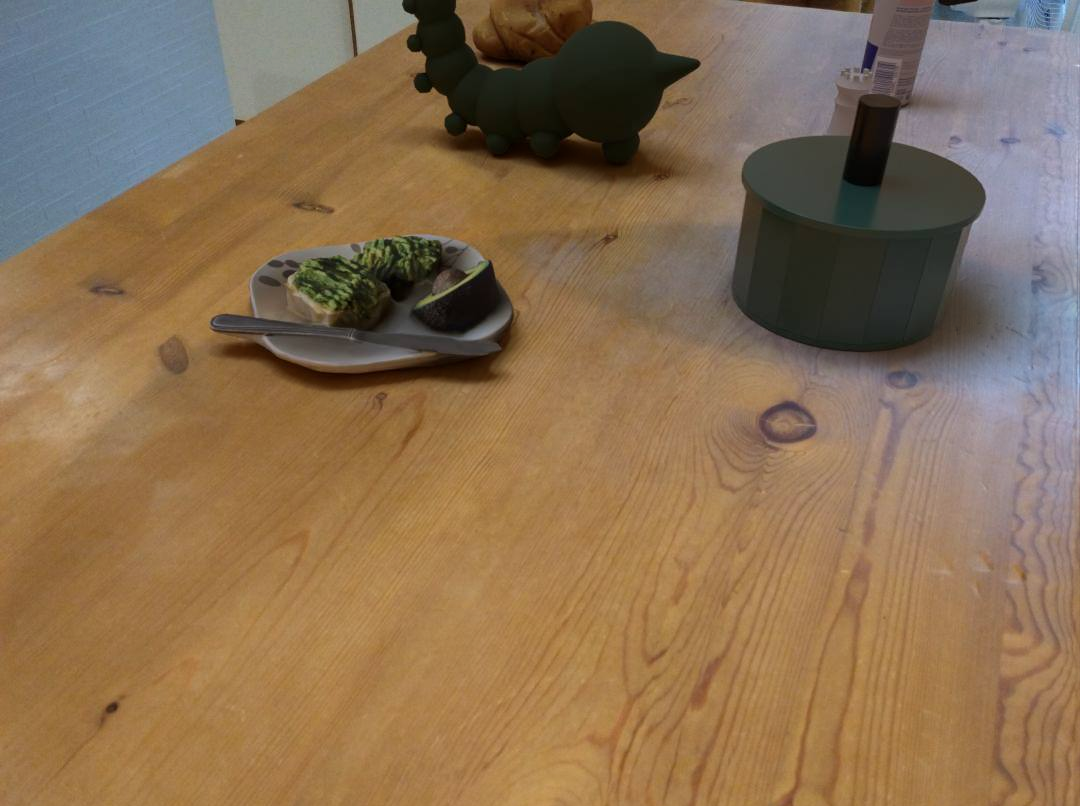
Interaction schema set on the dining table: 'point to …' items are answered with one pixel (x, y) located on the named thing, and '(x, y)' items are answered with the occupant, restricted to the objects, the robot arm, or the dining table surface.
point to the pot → (842, 282)
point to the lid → (864, 181)
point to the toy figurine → (547, 85)
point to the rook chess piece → (848, 99)
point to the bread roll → (530, 27)
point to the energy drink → (896, 45)
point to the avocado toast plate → (375, 305)
